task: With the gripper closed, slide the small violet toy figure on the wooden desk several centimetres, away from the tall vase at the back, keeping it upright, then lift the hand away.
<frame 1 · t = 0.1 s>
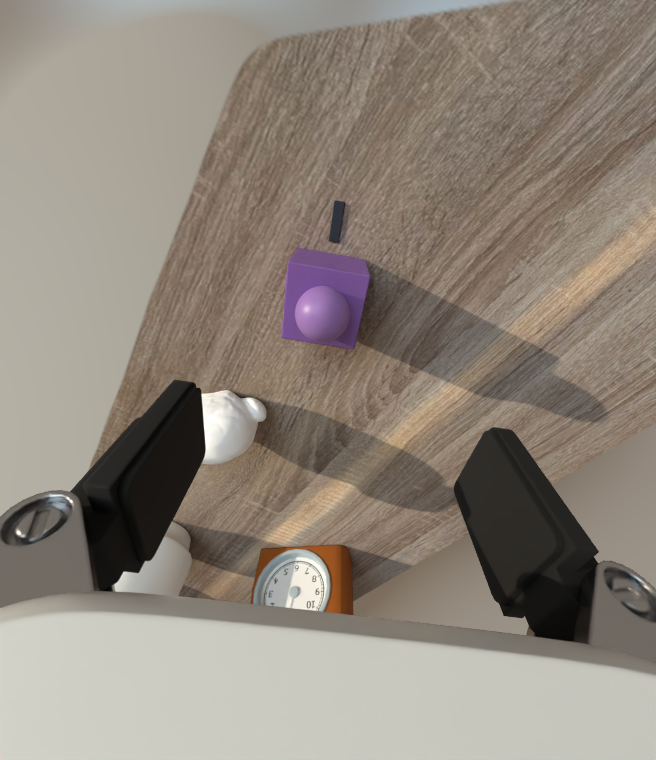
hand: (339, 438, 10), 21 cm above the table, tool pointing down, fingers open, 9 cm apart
vase: (161, 533, 51), on the table
toy: (326, 287, 28), on the table
rabbit: (215, 411, 37), on the table
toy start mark: (336, 222, 25), on the table
alarm clock: (308, 557, 54), on the table
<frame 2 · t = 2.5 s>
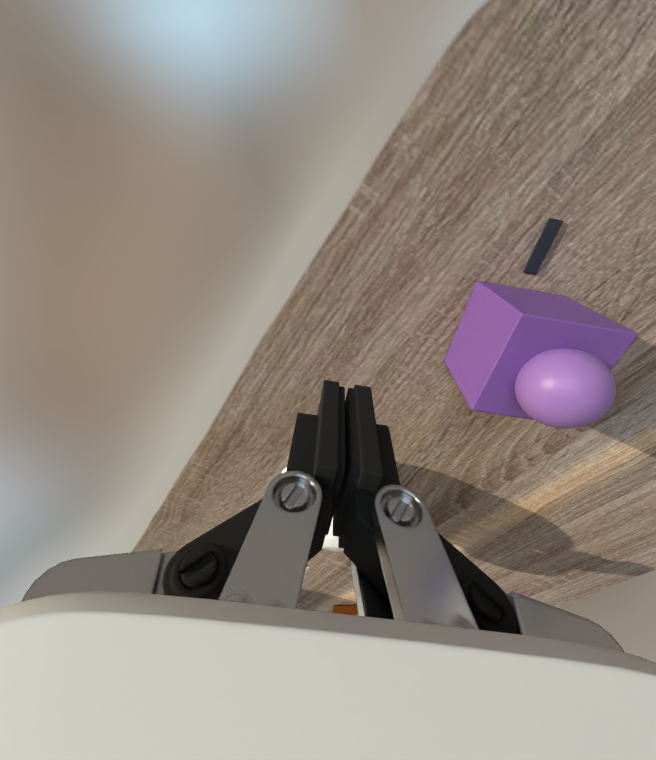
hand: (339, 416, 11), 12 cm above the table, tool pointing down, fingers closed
toy: (500, 330, 21), on the table
rabbit: (313, 469, 30), on the table
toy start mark: (542, 247, 18), on the table
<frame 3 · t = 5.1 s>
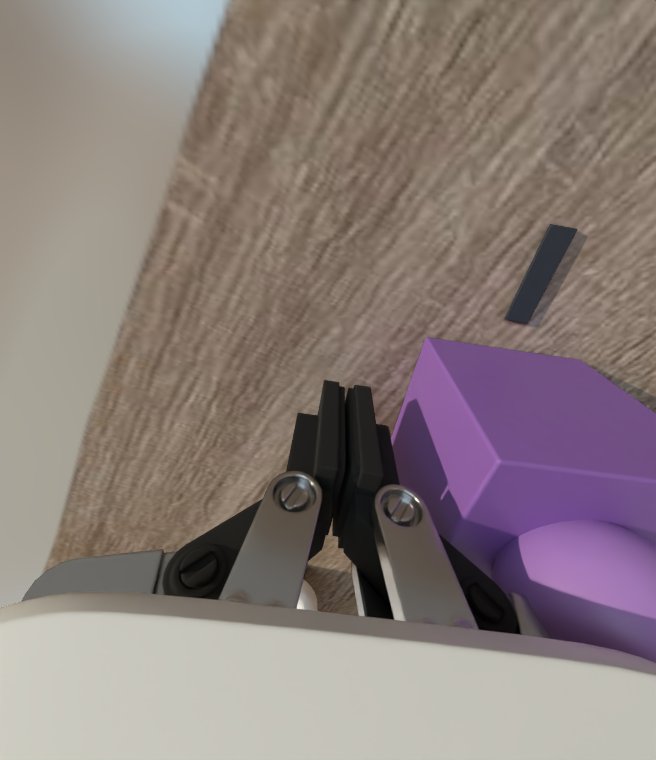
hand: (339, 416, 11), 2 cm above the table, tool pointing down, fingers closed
toy: (472, 411, 13), on the table, touching gripper
rabbit: (222, 575, 22), on the table
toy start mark: (537, 277, 10), on the table
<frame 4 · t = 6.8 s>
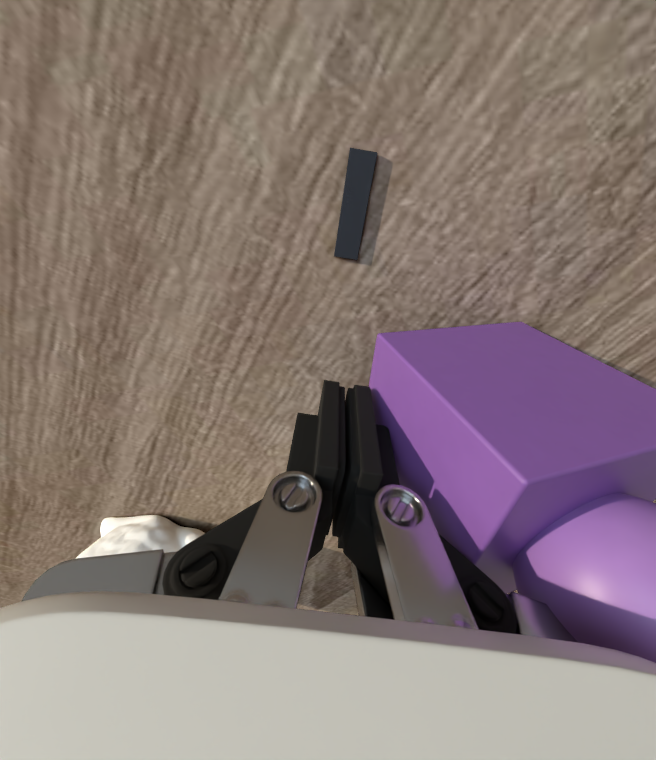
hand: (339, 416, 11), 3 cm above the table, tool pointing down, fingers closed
toy: (432, 395, 12), point 1 cm above the table, tilted 20°, touching gripper
rabbit: (143, 536, 22), on the table
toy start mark: (353, 208, 10), on the table
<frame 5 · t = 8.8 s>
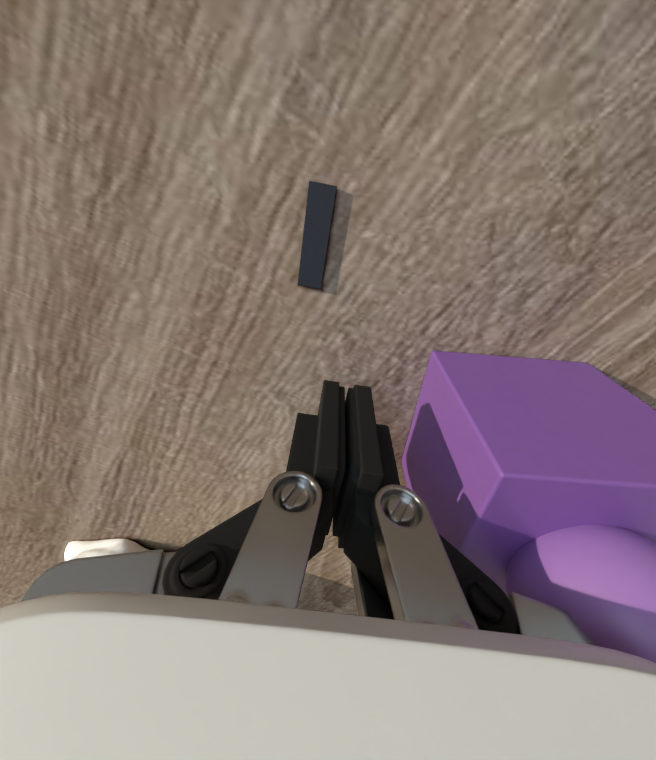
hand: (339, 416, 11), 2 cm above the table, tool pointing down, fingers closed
toy: (483, 417, 13), on the table
rabbit: (111, 560, 21), on the table
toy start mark: (315, 239, 10), on the table
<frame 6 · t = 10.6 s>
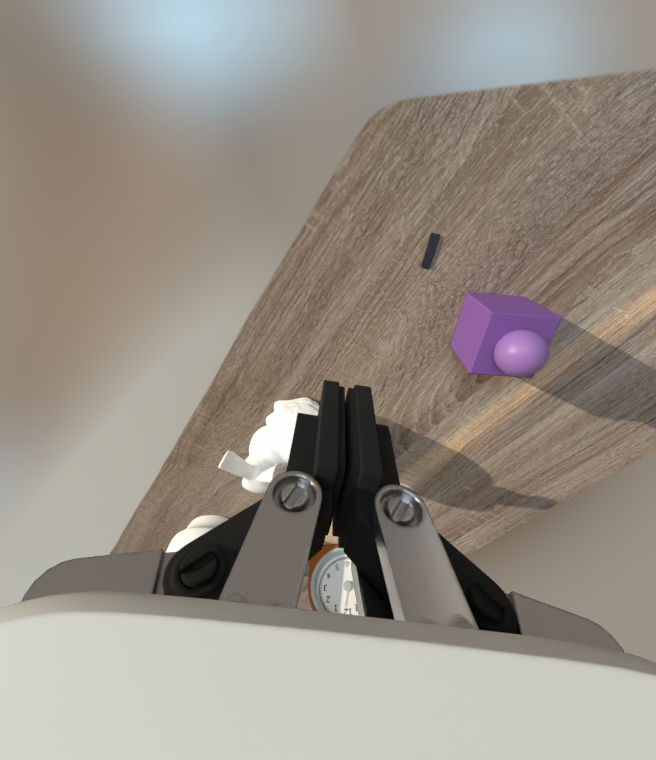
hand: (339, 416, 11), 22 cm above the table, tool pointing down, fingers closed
vase: (217, 530, 54), on the table
toy: (485, 322, 32), on the table
rabbit: (290, 416, 40), on the table
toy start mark: (430, 251, 29), on the table
alarm clock: (354, 554, 57), on the table
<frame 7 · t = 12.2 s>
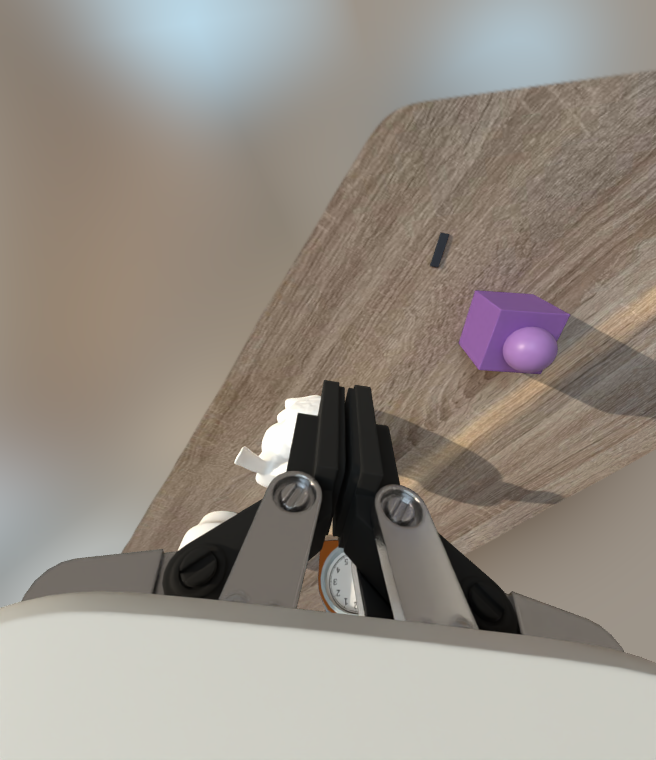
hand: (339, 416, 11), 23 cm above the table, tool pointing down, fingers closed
vase: (229, 526, 55), on the table
toy: (494, 320, 33), on the table
rabbit: (300, 414, 41), on the table
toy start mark: (439, 250, 29), on the table
alarm clock: (362, 549, 58), on the table
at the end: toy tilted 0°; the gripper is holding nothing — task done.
